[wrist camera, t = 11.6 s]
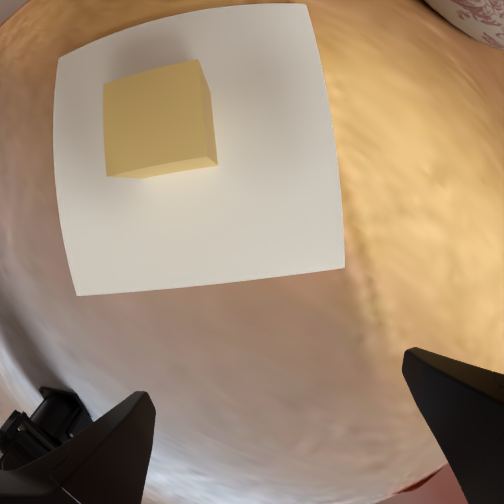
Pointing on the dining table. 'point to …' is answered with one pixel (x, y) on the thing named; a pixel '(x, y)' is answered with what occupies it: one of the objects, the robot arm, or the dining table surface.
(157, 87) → the cube
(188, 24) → the board
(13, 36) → the dining table surface
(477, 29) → the chamber pot
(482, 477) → the robot arm
